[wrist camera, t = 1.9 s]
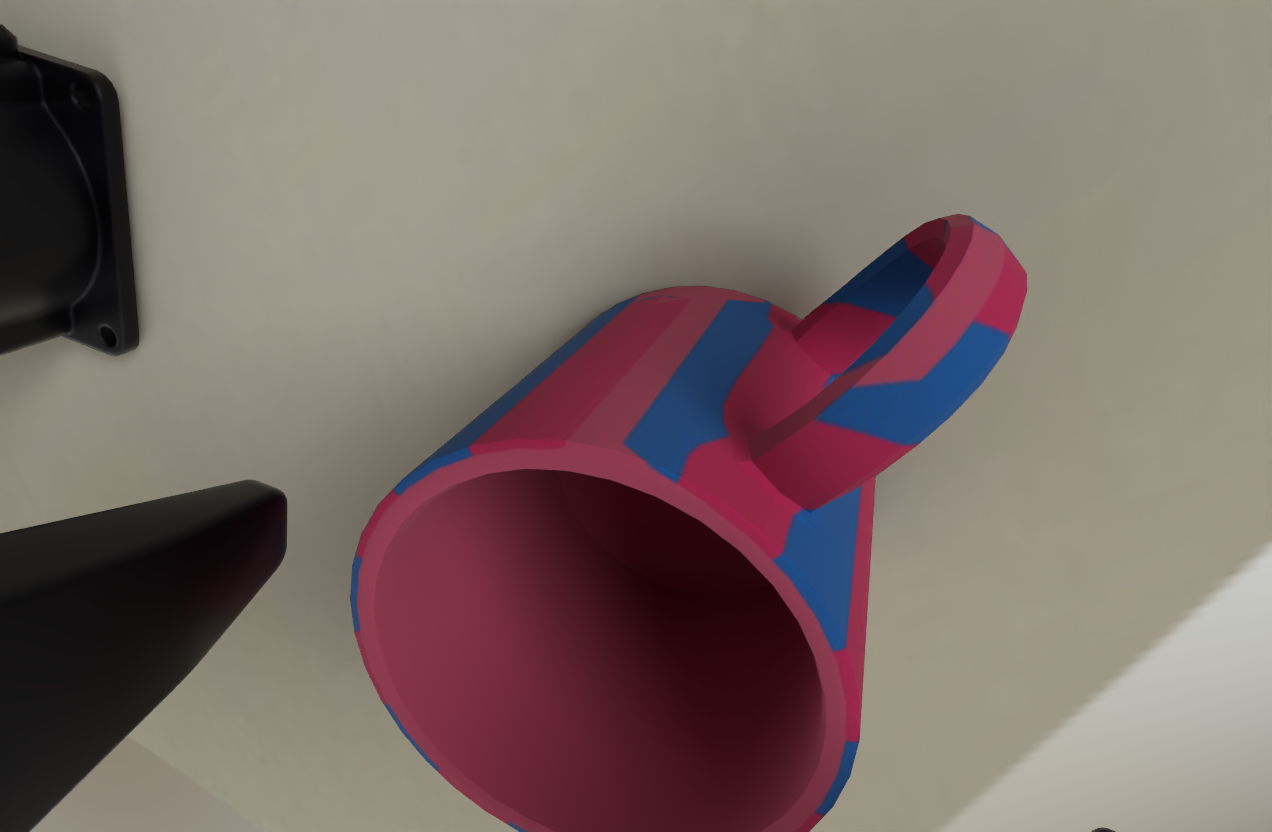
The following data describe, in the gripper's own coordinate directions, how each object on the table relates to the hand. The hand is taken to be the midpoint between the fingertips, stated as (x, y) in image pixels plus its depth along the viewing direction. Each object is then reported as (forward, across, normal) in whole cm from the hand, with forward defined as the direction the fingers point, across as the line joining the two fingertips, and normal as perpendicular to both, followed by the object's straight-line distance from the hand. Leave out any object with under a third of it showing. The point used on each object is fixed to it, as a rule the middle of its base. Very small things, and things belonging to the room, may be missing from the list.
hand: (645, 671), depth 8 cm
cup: (+8, 0, 0) cm, 8 cm away
